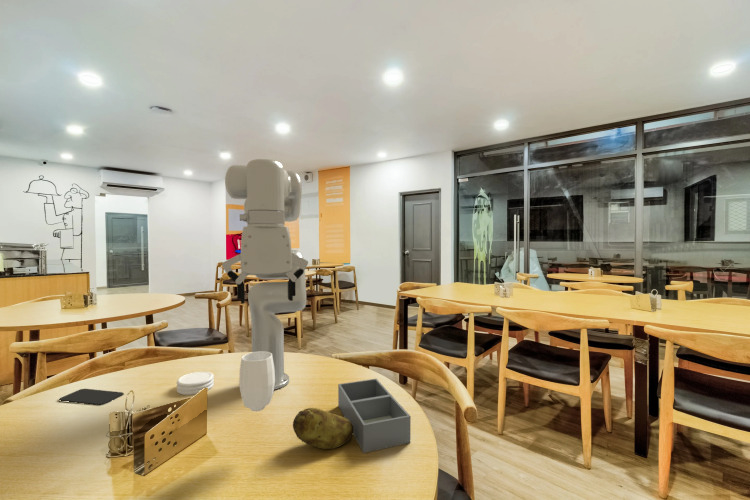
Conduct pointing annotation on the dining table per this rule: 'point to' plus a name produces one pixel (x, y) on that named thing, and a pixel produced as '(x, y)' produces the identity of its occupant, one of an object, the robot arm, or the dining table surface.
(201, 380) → the coaster
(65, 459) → the dining table surface
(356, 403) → the divided open storage box
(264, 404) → the cup
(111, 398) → the phone
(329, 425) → the potato
